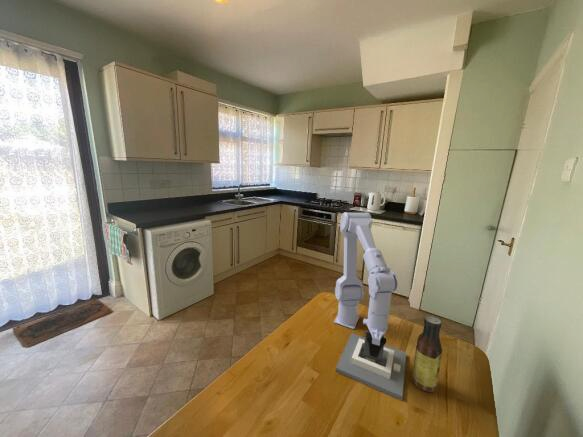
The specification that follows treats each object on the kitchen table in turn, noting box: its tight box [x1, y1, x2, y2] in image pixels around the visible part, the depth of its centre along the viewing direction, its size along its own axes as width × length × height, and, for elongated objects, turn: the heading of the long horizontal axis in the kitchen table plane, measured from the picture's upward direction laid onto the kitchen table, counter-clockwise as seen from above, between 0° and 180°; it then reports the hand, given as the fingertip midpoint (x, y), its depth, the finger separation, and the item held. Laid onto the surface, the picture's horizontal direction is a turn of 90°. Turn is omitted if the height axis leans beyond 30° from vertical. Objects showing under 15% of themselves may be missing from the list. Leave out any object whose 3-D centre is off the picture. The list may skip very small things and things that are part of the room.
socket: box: [335, 332, 407, 401], centre depth 73 cm, size 18×18×3 cm
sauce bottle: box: [411, 315, 443, 393], centre depth 65 cm, size 6×6×20 cm
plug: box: [363, 330, 385, 362], centre depth 73 cm, size 4×5×7 cm
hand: (373, 350), depth 73 cm, fingers closed on plug, 4 cm apart
